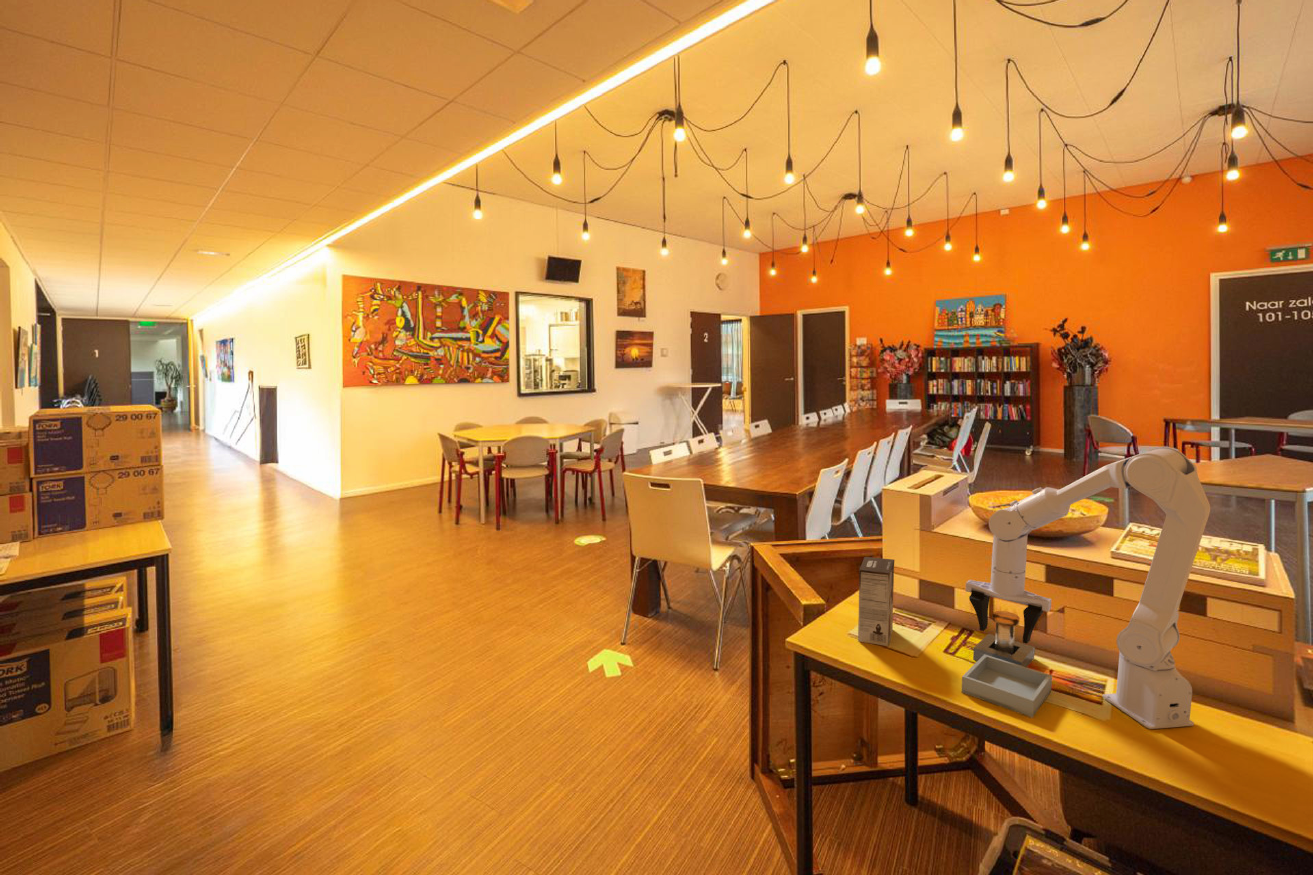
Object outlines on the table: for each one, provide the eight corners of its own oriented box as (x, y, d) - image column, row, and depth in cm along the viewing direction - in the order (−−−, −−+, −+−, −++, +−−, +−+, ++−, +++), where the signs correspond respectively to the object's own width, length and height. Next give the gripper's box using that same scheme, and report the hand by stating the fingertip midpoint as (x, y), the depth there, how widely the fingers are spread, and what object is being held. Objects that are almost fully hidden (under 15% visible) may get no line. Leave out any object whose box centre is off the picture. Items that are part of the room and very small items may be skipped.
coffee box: (862, 624, 138) (864, 555, 135) (893, 628, 135) (895, 558, 133) (857, 641, 129) (858, 568, 127) (889, 647, 127) (891, 572, 124)
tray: (1051, 690, 109) (1052, 675, 109) (1032, 717, 101) (1033, 700, 101) (983, 668, 117) (984, 654, 117) (961, 692, 109) (962, 676, 109)
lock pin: (1022, 664, 118) (1025, 620, 117) (999, 665, 118) (1002, 621, 117) (1007, 652, 123) (1009, 610, 122) (985, 654, 123) (987, 611, 121)
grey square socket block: (1034, 658, 120) (1034, 646, 120) (1020, 674, 115) (1021, 662, 114) (987, 644, 126) (988, 633, 126) (973, 659, 121) (973, 647, 120)
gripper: (1057, 572, 116) (1052, 639, 117) (975, 555, 126) (972, 617, 128) (1047, 582, 111) (1042, 652, 113) (962, 563, 121) (959, 628, 123)
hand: (1004, 635), depth 120 cm, fingers open, 7 cm apart
